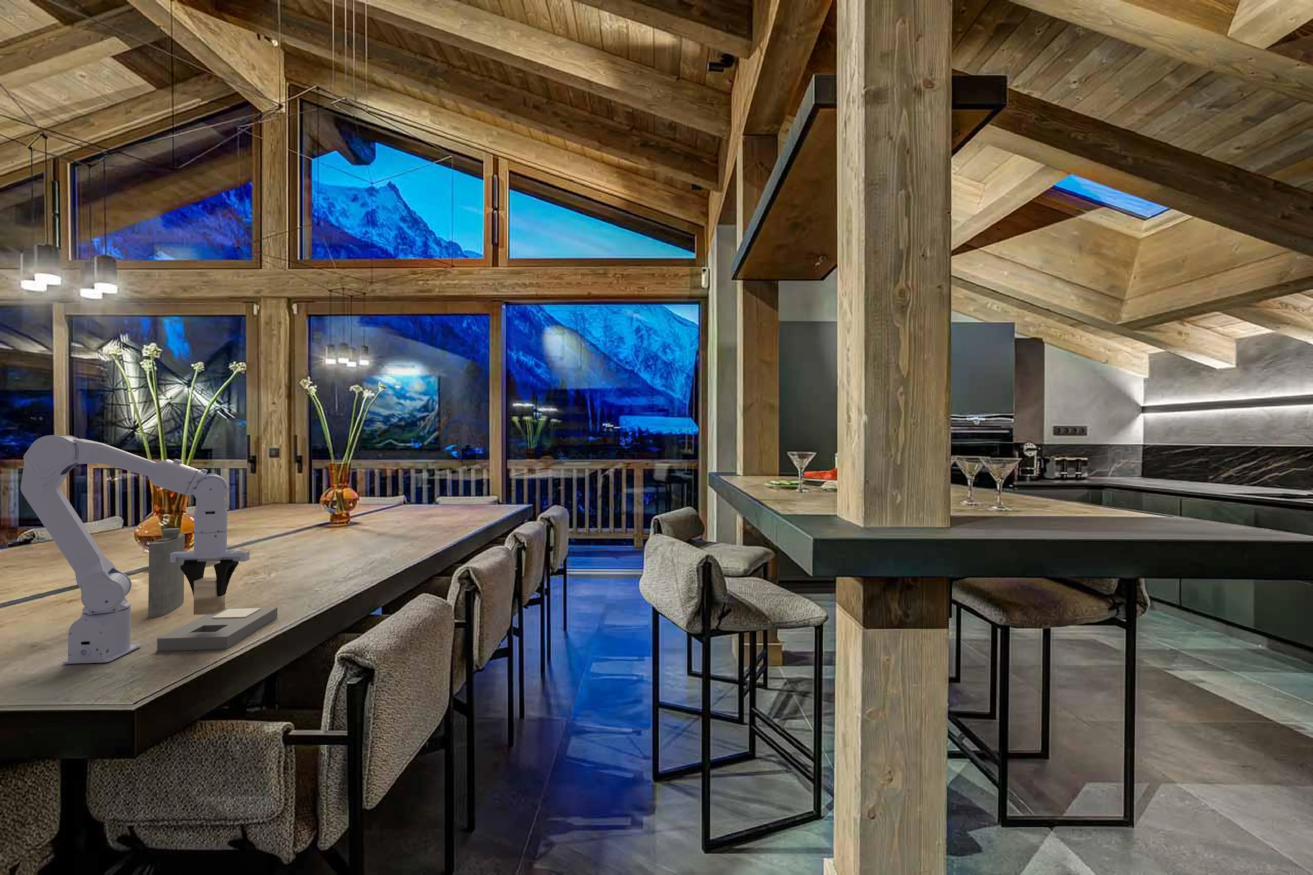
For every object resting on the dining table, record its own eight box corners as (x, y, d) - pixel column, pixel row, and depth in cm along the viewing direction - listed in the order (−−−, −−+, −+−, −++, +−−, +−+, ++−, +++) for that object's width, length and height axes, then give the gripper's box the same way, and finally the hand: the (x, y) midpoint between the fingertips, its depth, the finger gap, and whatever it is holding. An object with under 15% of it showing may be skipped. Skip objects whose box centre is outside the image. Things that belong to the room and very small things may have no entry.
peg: (214, 614, 131) (214, 580, 131) (193, 614, 130) (194, 581, 130) (224, 609, 135) (225, 576, 135) (204, 609, 134) (205, 576, 134)
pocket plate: (227, 648, 127) (227, 635, 127) (157, 650, 126) (157, 637, 126) (277, 617, 149) (277, 606, 149) (218, 619, 147) (218, 607, 147)
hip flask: (171, 601, 163) (171, 524, 163) (189, 599, 164) (190, 523, 164) (145, 617, 148) (146, 533, 148) (166, 616, 149) (167, 532, 149)
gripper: (256, 528, 137) (256, 590, 137) (184, 528, 135) (183, 591, 135) (240, 533, 130) (239, 598, 130) (163, 533, 129) (162, 599, 128)
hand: (209, 595), depth 132 cm, fingers closed on peg, 4 cm apart
